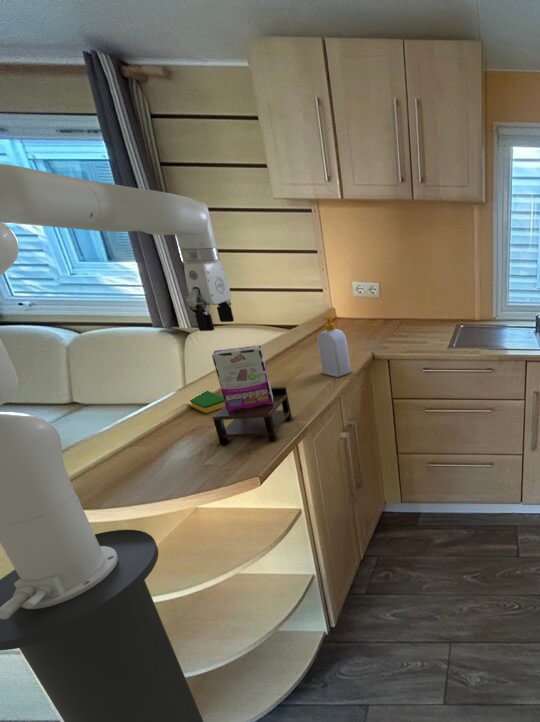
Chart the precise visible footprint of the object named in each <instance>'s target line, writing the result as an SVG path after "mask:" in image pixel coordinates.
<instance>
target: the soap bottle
mask: <svg viewBox="0 0 540 722" xmlns="http://www.w3.org/2000/svg"><path fill="white" fill-rule="evenodd" d="M332 318H338V315H327V316H325V317H323V320H325V321H326V322H327V323H324V330H323V331H321V332H320V333H318V334H317V345H318V351H319V352H318V353H319V357H320V364H321V370H322V374H324V375H327V376H331V377H335V378H339V377H342V376H345V375H347V374H350V373H351V371H352V370H351V364H350V356H349V349H348V343H347V342H348V341H347V338H346V337H347V336H346V335H345V333H344V332H343V331H342V330H341V329H339V328H336V324H335V323H334V322H333V323H332Z"/></svg>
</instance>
